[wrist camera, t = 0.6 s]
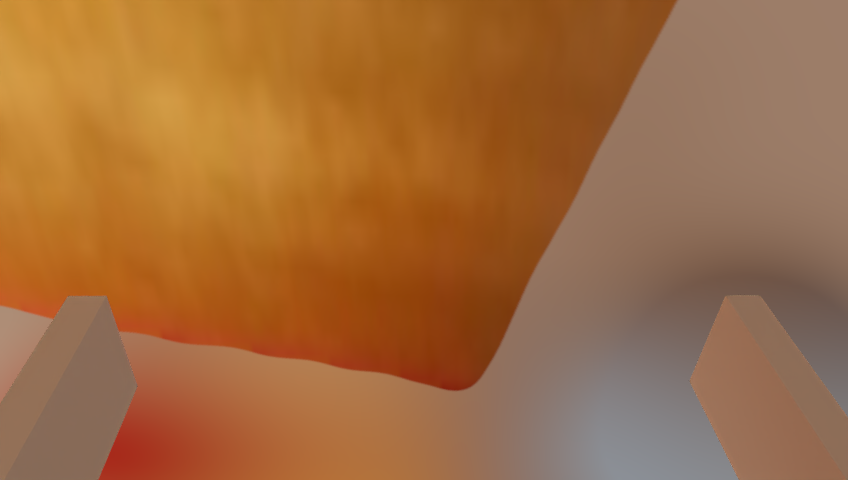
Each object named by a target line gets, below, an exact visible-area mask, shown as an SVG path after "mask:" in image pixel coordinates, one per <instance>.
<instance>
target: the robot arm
mask: <svg viewBox="0 0 848 480" xmlns="http://www.w3.org/2000/svg"><path fill="white" fill-rule="evenodd" d="M690 383H691V385H692V387H693V389H694V391H695V393H696V395H697V397H698V399H699V401H700V403H701V405H702V407H703V409H704V411H705V413H706V415H707V417H708V419H709V421H710V423H711V425H712V427H713V429H714V431H715V433H716V435H717V437H718V439H719V441H720V443H721V445H722V447H723V449H724V451H725V453H726V455H727V457H728V459H729V461H730V463H731V465H732V467H733V469H734V471H735V473H736V475H737V477H738V479H739V480H848V417H847V416H846V414H845V413H844V411H843V410H842V409H841V407H840V406H839V404H838V403H837V402H836V400H835V399H834V398H833V396H832V395H831V393H830V392H829V391H828V389H827V388H826V387H825V385H824V384H823V382H822V381H821V380H820V378H819V377H818V376H817V374H816V373H815V371H814V370H813V369H812V367H811V366H810V364H809V363H808V362H807V360H806V359H805V357H804V356H803V355H802V353H801V352H800V351H799V349H798V348H797V347H796V345H795V344H794V342H793V341H792V339H791V338H790V337H789V335H788V334H787V332H786V331H785V330H784V328H783V327H782V326H781V324H780V323H779V321H778V320H777V319H776V317H775V316H774V314H773V313H772V312H771V310H770V309H769V308H768V306H767V305H766V303H765V302H764V301H763V299H762V298H761V296H759V295H755V296H754V295H751V296H750V295H749V296H748V295H745V296H744V295H741V296H739V295H738V296H737V295H734V296H733V295H731V296H730V295H728V296H725V298H724V301H723V303H722V306H721V308H720V310H719V313H718V315H717V317H716V320H715V322H714V324H713V327H712V329H711V331H710V334H709V336H708V339H707V341H706V343H705V346H704V348H703V351H702V353H701V355H700V358H699V360H698V363H697V365H696V367H695V369H694V372H693V374H692V377H691V379H690ZM136 388H137V383H136V380H135V377H134V374H133V371H132V368H131V366H130V363H129V360H128V357H127V354H126V351H125V349H124V345H123V343H122V340H121V337H120V334H119V331H118V328H117V325H116V322H115V319H114V317H113V314H112V311H111V308H110V305H109V302H108V299H107V296H68V297H67V299H66V300H65V302H64V303H63V305H62V307H61V308H60V310H59V311H58V313H57V314H56V316H55V318H54V319H53V321H52V322H51V324H50V326H49V327H48V329H47V330H46V332H45V333H44V335H43V337H42V338H41V340H40V341H39V343H38V345H37V346H36V348H35V349H34V351H33V353H32V354H31V356H30V357H29V359H28V360H27V362H26V364H25V365H24V367H23V368H22V370H21V372H20V373H19V375H18V376H17V378H16V379H15V381H14V383H13V384H12V386H11V387H10V389H9V391H8V392H7V394H6V396H5V397H4V398H3V400H2V402H1V403H0V480H98V479H99V476H100V474H101V472H102V469H103V467H104V464H105V462H106V460H107V457H108V455H109V453H110V450H111V448H112V446H113V443H114V441H115V438H116V436H117V433H118V431H119V429H120V426H121V424H122V422H123V419H124V417H125V415H126V412H127V410H128V407H129V405H130V403H131V400H132V398H133V396H134V393H135V391H136Z"/></svg>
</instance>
